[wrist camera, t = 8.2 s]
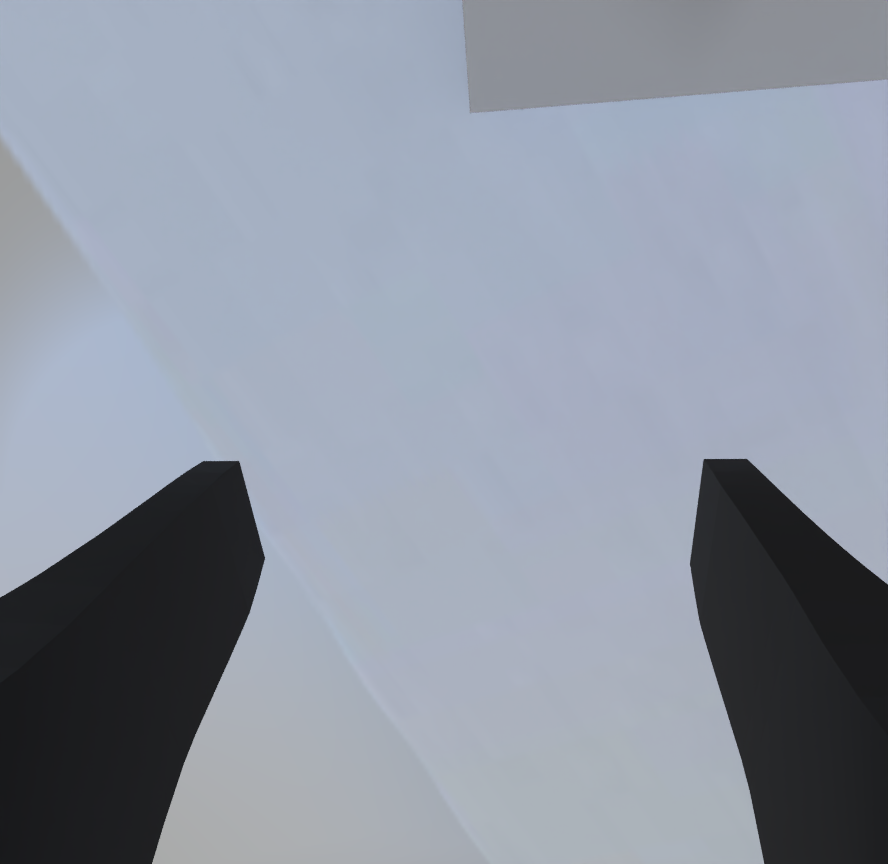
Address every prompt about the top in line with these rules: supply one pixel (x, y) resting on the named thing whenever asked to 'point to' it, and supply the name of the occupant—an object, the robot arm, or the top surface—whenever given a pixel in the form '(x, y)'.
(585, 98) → the slate base
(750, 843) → the top surface
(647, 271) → the top surface
